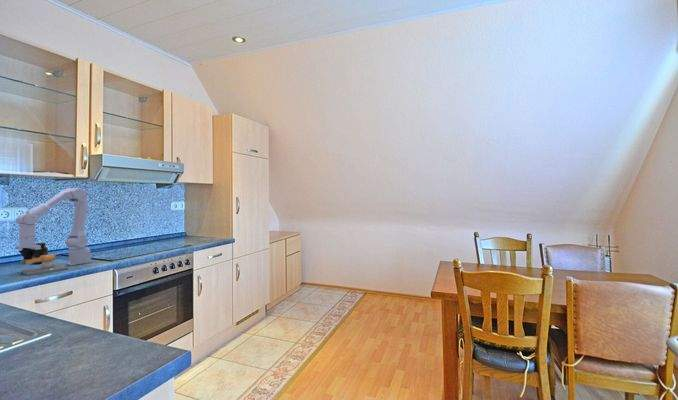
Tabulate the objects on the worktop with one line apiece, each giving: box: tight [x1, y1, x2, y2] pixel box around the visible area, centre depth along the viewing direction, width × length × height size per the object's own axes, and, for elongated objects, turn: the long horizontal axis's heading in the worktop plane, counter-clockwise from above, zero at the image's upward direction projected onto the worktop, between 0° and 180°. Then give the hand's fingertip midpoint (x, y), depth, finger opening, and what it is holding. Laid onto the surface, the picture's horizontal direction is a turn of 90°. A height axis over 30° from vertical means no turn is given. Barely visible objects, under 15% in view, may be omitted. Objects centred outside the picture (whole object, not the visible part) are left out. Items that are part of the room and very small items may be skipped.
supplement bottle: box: [31, 242, 49, 265], centre depth 181 cm, size 7×7×12 cm
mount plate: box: [21, 260, 68, 277], centre depth 163 cm, size 15×14×5 cm
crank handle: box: [20, 253, 56, 266], centre depth 161 cm, size 14×6×3 cm, turn 161°
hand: (28, 263), depth 158 cm, fingers closed, pressing on crank handle
